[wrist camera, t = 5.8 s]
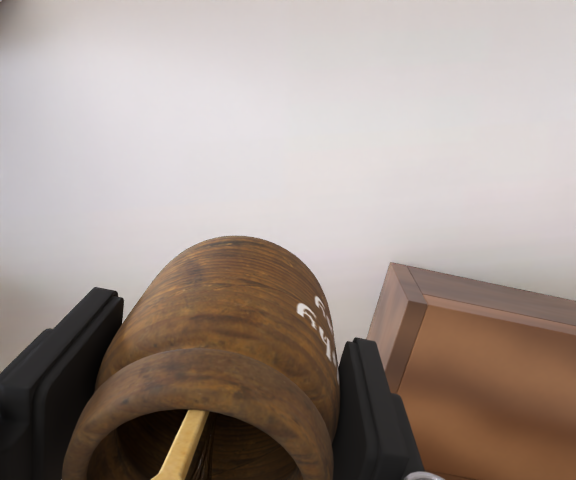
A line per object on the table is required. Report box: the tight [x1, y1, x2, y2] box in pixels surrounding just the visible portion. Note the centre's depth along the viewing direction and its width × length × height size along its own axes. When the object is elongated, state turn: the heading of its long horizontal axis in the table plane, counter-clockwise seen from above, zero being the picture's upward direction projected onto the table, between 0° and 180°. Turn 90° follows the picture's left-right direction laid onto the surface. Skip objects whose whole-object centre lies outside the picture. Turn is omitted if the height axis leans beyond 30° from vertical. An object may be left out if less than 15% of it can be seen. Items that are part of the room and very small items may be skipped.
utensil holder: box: [62, 236, 340, 480], centre depth 9 cm, size 6×6×12 cm
